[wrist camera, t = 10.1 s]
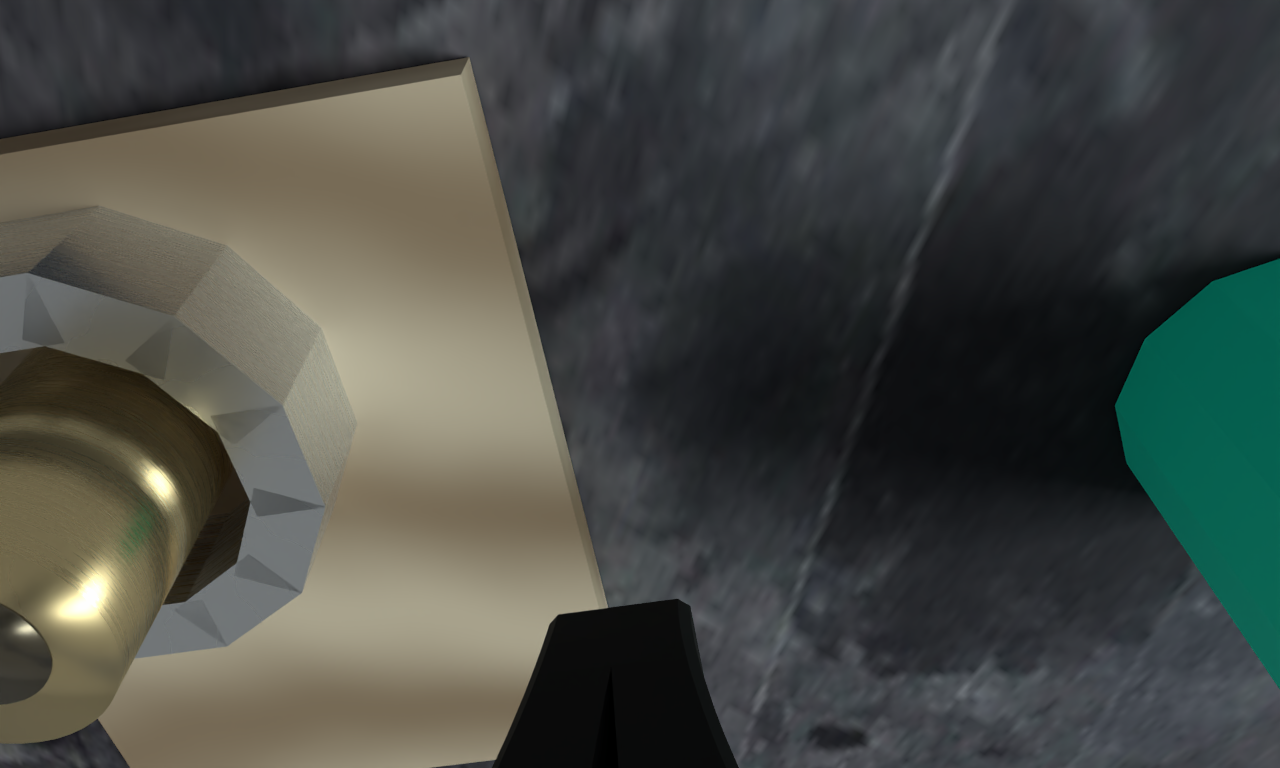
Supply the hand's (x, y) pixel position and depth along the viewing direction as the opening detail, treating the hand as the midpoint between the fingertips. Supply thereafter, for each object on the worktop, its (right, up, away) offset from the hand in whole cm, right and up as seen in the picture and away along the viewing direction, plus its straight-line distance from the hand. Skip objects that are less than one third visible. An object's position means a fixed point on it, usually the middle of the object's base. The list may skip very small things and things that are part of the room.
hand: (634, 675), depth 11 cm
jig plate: (-7, +1, +11) cm, 13 cm away
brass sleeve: (-9, +3, +9) cm, 13 cm away
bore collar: (-9, +3, +10) cm, 14 cm away
